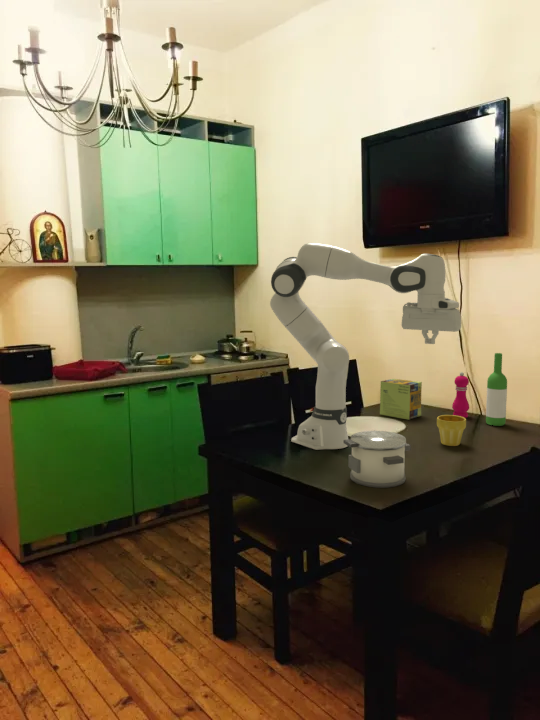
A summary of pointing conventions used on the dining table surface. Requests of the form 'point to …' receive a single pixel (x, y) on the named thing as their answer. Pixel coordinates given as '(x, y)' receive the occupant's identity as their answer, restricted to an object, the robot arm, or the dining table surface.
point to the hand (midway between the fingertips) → (429, 343)
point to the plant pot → (451, 429)
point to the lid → (376, 440)
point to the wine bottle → (496, 394)
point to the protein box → (400, 398)
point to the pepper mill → (461, 396)
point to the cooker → (378, 467)
